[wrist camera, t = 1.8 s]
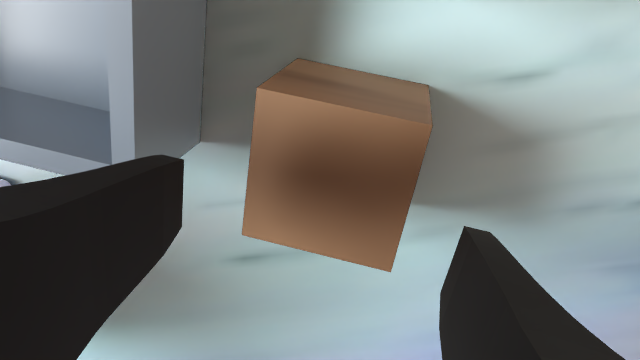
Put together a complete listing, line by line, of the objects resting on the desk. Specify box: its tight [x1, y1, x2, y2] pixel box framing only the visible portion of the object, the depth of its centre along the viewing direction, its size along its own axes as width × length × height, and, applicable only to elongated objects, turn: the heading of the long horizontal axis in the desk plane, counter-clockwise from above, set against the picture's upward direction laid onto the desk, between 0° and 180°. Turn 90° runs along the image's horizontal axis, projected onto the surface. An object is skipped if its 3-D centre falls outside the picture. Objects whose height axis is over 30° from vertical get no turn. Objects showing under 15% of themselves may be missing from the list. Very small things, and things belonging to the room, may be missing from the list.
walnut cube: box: [242, 58, 433, 272], centre depth 16 cm, size 5×5×5 cm
